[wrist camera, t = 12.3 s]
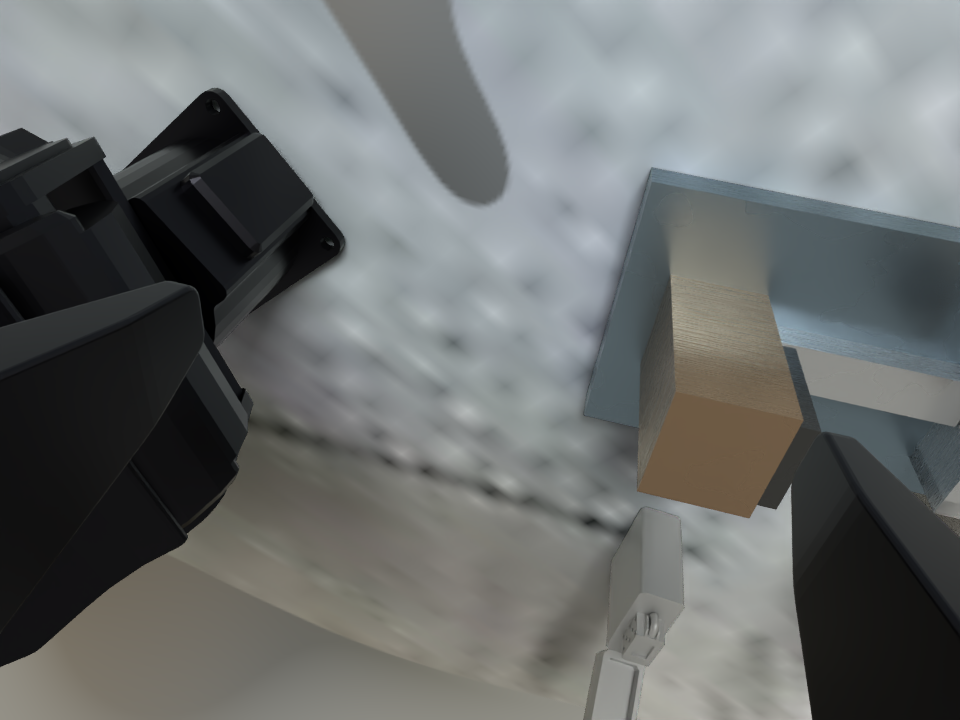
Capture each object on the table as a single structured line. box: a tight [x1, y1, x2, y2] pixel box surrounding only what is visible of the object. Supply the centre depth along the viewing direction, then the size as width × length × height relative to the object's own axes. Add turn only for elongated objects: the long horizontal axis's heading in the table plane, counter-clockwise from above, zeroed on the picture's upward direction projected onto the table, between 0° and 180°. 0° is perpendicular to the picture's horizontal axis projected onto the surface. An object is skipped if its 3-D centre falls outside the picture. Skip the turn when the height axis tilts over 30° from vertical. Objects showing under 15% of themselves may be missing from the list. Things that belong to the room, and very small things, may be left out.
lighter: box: [583, 507, 684, 720], centre depth 27 cm, size 7×2×8 cm, turn 168°
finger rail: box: [584, 168, 960, 519], centre depth 19 cm, size 18×9×7 cm, turn 83°
